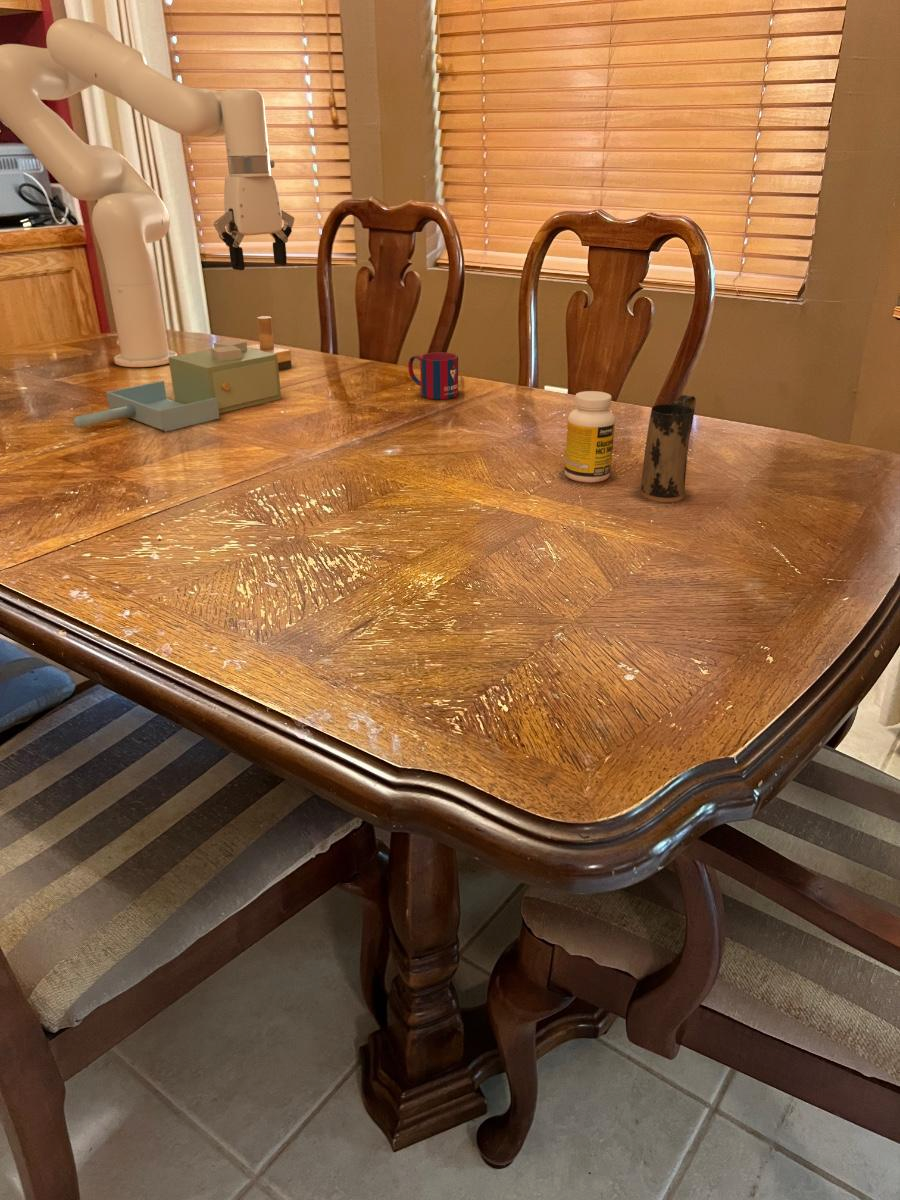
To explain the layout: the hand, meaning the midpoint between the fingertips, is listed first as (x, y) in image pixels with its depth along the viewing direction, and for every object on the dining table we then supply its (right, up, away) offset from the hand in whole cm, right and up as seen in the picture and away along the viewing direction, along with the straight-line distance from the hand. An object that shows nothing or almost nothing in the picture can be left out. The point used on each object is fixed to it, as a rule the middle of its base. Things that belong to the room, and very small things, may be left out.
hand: (260, 267), depth 165 cm
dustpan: (-15, -35, -25) cm, 45 cm away
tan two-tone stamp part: (0, -16, +10) cm, 19 cm away
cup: (+33, -27, -10) cm, 44 cm away
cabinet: (-3, -29, -14) cm, 32 cm away
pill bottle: (+55, -47, -48) cm, 87 cm away
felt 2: (-1, -23, -19) cm, 30 cm away
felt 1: (-2, -20, -14) cm, 25 cm away
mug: (+64, -50, -54) cm, 98 cm away
